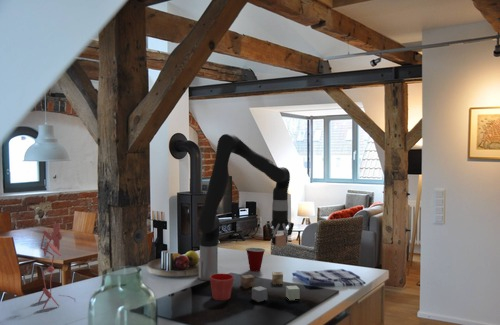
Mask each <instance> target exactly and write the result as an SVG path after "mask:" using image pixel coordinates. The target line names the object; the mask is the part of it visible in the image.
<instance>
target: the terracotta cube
mask: <svg viewBox="0 0 500 325" xmlns="http://www.w3.org/2000/svg"><path fill="white" fill-rule="evenodd" d="M273 246H274V247H276V248H277V247H278V248H280V247H287V243H286V236H285V235H284V233H276V235H275V245H273Z"/></svg>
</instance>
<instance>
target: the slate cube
mask: <svg viewBox="0 0 500 325" xmlns="http://www.w3.org/2000/svg"><path fill="white" fill-rule="evenodd" d="M251 300H254V301H255V302H257V303H260V302H263V301H264V300H265V301H268V288H266V287H263V286H261V285H259V286H255V287H252V288H251Z"/></svg>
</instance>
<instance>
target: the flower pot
mask: <svg viewBox="0 0 500 325" xmlns="http://www.w3.org/2000/svg"><path fill="white" fill-rule="evenodd" d="M209 282H210V287H211V294H212V295H211V296H212V299H213V300H214V301H215V300H216V301H228V300H229V299H230V298H231V295H232V289H233V283H234V275H232V274H230V273H218V274H213V275H211V276H210V280H209Z"/></svg>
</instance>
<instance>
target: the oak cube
mask: <svg viewBox="0 0 500 325" xmlns="http://www.w3.org/2000/svg"><path fill="white" fill-rule="evenodd" d="M271 275H272V276H271V277H272V278H271V280H272V282H271V283H272V285H276V284H279V285H280V284H283V285H284V274H283V271H272V274H271ZM279 285H278V286H279Z"/></svg>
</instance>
